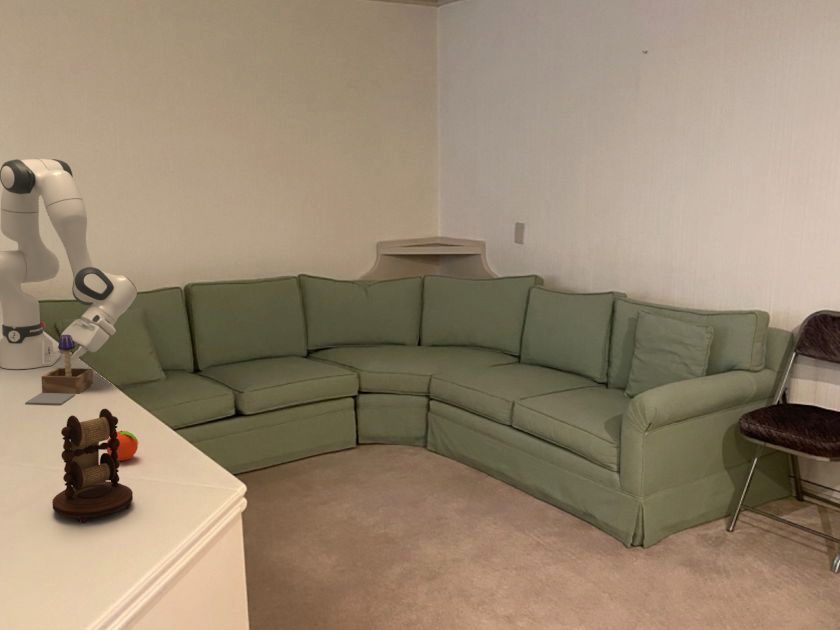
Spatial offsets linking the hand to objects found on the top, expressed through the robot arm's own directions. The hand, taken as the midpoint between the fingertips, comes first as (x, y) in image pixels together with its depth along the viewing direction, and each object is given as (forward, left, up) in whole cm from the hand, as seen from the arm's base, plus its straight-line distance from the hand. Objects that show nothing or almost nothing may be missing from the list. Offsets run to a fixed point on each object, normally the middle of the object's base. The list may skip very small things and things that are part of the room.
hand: (66, 356), depth 238 cm
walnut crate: (0, 0, -10) cm, 10 cm away
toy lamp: (0, 0, -10) cm, 10 cm away
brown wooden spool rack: (+86, +40, -10) cm, 96 cm away
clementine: (+59, +37, -10) cm, 71 cm away
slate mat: (+12, 0, -10) cm, 16 cm away
